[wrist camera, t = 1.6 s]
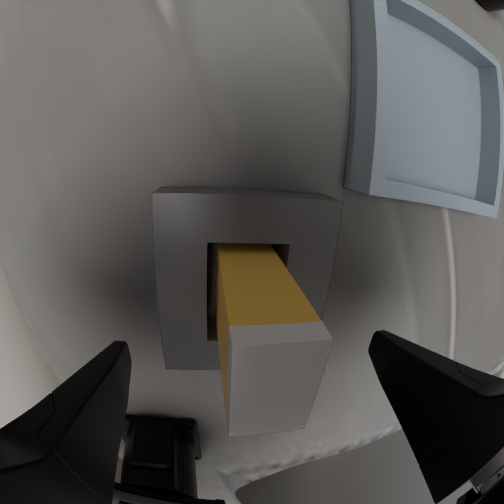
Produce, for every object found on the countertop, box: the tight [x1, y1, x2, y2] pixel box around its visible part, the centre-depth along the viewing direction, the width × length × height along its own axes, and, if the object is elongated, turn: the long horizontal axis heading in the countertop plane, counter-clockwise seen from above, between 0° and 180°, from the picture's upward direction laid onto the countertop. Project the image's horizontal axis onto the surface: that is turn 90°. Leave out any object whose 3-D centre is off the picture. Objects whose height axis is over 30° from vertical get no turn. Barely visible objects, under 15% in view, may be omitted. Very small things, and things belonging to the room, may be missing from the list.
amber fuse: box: [215, 243, 333, 437], centre depth 11 cm, size 4×2×8 cm, turn 176°
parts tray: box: [344, 0, 504, 218], centre depth 11 cm, size 12×12×2 cm
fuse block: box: [152, 187, 343, 370], centre depth 13 cm, size 9×8×2 cm
